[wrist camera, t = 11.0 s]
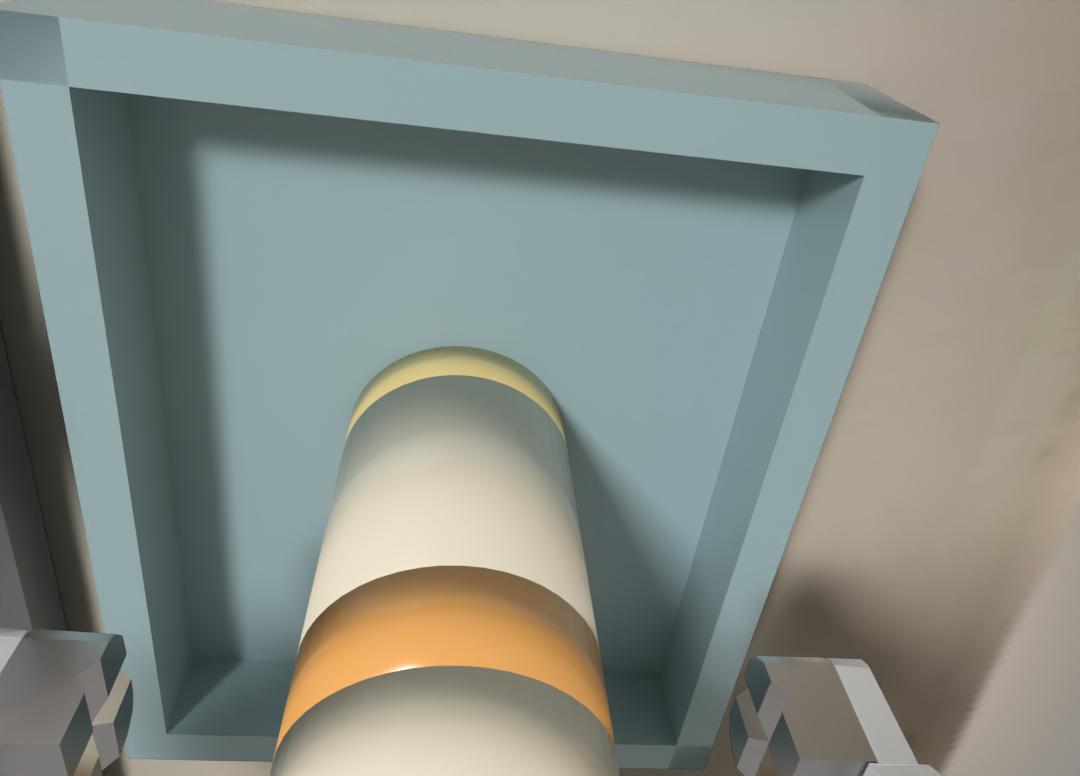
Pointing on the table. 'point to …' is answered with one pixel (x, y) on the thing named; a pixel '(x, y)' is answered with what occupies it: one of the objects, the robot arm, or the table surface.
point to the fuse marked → (450, 588)
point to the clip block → (22, 528)
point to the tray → (434, 318)
